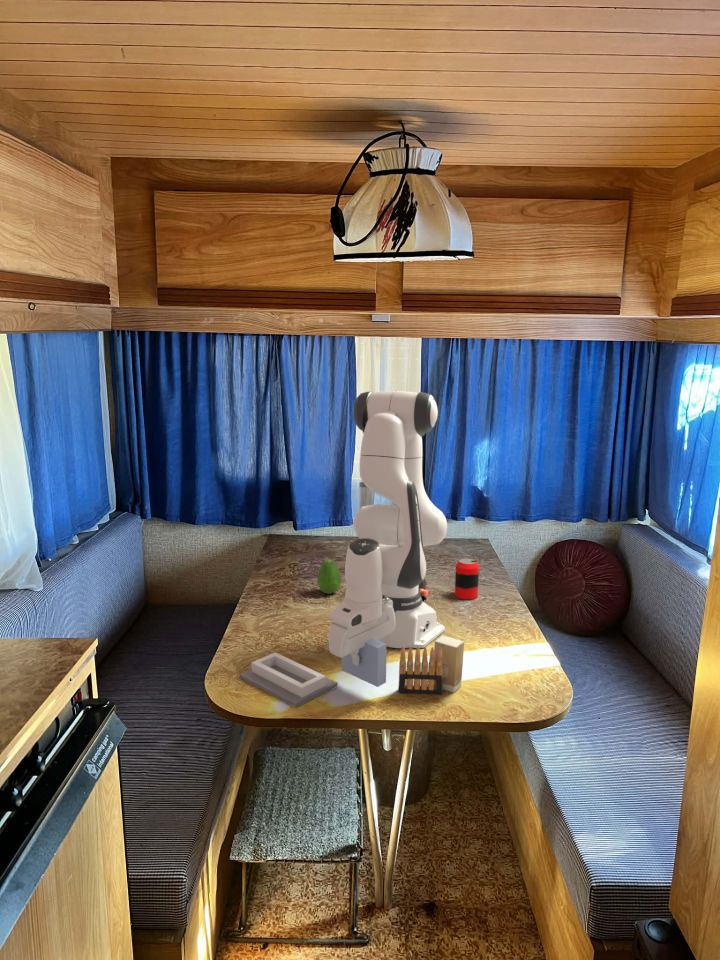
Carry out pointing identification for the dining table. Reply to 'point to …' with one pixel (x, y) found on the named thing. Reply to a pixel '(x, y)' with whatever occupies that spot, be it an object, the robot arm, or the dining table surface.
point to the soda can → (466, 579)
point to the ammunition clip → (420, 673)
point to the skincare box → (450, 662)
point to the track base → (287, 679)
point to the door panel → (368, 663)
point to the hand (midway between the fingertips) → (363, 660)
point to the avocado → (329, 577)
